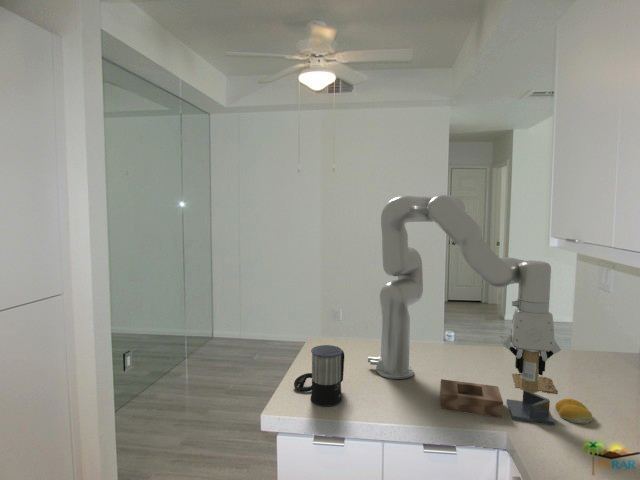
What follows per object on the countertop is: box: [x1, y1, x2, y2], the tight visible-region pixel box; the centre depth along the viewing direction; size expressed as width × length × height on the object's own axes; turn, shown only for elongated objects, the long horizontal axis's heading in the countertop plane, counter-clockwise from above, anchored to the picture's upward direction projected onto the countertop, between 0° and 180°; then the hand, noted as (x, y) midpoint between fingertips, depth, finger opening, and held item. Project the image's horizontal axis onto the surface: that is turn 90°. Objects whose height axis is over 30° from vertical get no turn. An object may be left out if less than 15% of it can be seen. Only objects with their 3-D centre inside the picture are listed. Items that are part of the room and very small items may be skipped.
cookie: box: [511, 373, 558, 395], centre depth 132 cm, size 12×12×1 cm
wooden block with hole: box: [439, 378, 504, 419], centre depth 116 cm, size 16×10×4 cm, turn 74°
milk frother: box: [293, 344, 345, 407], centre depth 121 cm, size 14×16×15 cm
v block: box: [506, 390, 555, 426], centre depth 112 cm, size 10×11×4 cm
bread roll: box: [554, 398, 593, 425], centre depth 111 cm, size 8×9×4 cm
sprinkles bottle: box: [520, 349, 540, 394], centre depth 111 cm, size 5×5×13 cm
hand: (529, 371), depth 111 cm, fingers closed on sprinkles bottle, 4 cm apart
